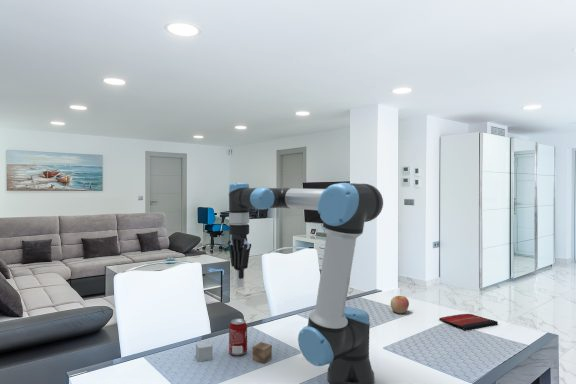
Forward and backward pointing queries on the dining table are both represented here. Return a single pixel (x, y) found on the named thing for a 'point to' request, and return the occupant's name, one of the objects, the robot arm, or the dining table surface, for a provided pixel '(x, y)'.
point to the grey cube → (204, 351)
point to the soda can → (238, 337)
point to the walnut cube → (262, 352)
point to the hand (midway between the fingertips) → (239, 286)
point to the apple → (399, 304)
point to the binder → (468, 321)
